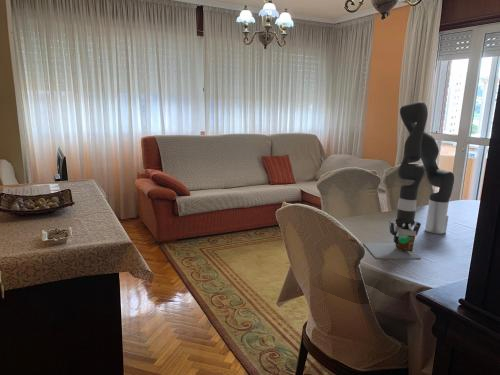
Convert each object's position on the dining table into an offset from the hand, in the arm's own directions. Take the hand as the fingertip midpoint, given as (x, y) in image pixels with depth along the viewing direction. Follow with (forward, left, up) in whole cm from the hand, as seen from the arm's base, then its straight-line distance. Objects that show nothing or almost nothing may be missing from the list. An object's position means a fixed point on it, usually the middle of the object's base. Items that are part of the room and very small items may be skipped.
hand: (402, 243), depth 169 cm
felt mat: (+5, 0, -4) cm, 6 cm away
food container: (+1, 0, -2) cm, 2 cm away
